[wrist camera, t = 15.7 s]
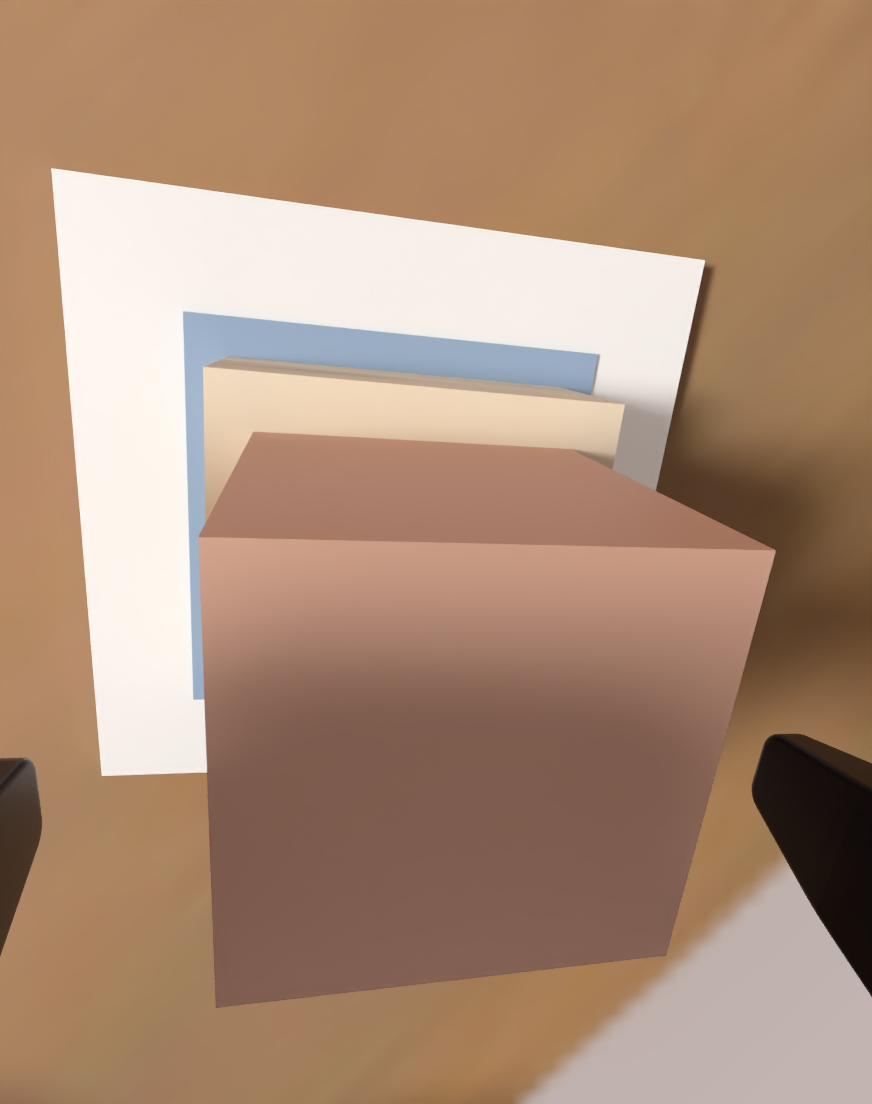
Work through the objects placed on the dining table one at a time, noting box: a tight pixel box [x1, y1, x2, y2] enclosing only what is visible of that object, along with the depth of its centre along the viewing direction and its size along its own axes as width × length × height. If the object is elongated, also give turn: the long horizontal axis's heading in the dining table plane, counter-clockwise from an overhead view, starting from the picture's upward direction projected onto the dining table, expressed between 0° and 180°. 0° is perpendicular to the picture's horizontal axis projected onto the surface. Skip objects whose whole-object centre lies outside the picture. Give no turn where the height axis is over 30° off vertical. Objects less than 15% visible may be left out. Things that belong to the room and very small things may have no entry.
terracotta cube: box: [198, 432, 776, 1008], centre depth 8 cm, size 5×5×5 cm
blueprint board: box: [51, 168, 705, 776], centre depth 14 cm, size 12×12×1 cm
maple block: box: [203, 356, 625, 523], centre depth 12 cm, size 6×6×3 cm
